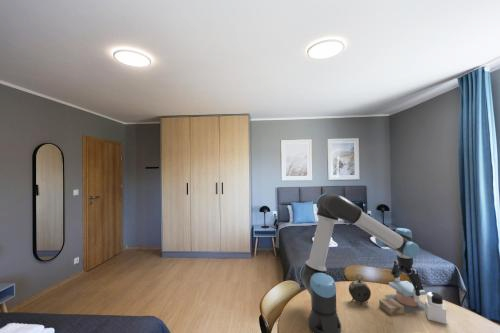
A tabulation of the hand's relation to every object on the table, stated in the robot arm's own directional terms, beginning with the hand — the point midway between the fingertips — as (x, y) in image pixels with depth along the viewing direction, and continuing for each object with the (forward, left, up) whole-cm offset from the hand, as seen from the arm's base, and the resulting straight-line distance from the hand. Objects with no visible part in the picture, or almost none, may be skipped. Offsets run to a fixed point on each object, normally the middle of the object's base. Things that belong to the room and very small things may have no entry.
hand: (406, 294), depth 124 cm
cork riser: (-14, -5, -5) cm, 16 cm away
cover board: (0, 0, +3) cm, 3 cm away
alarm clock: (-26, +4, -5) cm, 27 cm away
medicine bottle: (+3, -14, -5) cm, 15 cm away
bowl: (0, 0, -4) cm, 4 cm away
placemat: (0, 0, -5) cm, 5 cm away
